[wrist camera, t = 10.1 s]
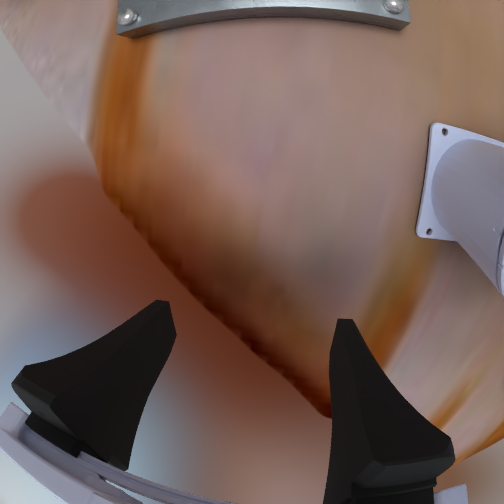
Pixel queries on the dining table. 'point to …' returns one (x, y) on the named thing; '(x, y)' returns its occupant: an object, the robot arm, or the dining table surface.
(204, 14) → the grey metal base plate
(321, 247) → the dining table surface
